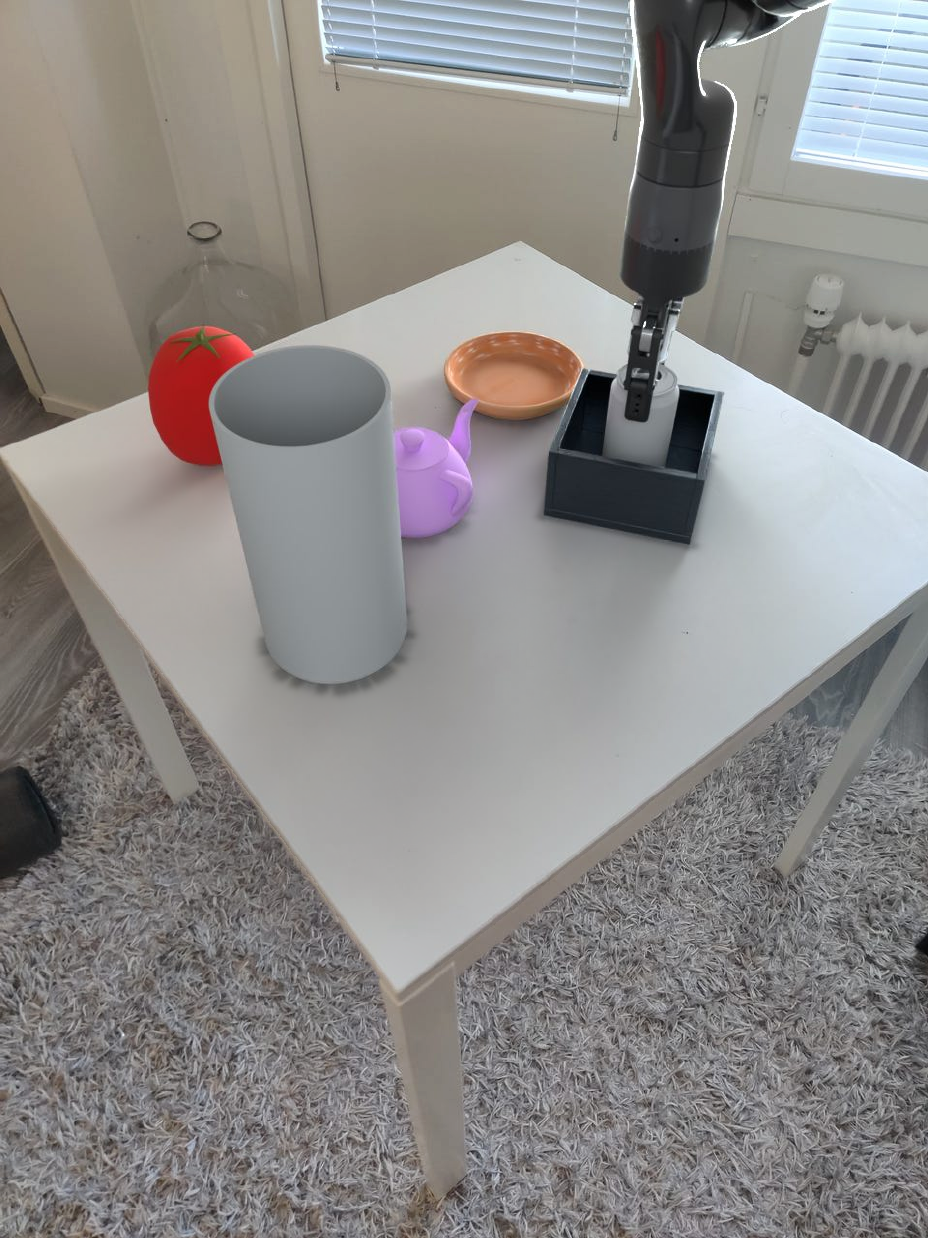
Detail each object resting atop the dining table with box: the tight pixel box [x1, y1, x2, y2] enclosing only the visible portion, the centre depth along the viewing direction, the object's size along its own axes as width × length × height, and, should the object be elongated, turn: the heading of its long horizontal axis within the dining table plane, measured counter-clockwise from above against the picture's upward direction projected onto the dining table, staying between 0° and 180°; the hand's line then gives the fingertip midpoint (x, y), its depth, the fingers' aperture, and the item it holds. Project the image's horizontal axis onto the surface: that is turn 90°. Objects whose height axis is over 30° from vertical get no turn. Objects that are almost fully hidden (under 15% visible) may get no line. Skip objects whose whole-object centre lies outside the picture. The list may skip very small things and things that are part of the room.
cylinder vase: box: [209, 344, 408, 685], centre depth 75 cm, size 12×12×25 cm
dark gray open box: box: [543, 368, 725, 545], centre depth 95 cm, size 15×15×8 cm
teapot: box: [394, 398, 478, 539], centre depth 92 cm, size 12×14×9 cm
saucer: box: [443, 330, 585, 421], centre depth 108 cm, size 16×16×3 cm
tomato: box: [147, 324, 256, 466], centre depth 97 cm, size 13×11×14 cm
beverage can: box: [602, 363, 679, 468], centre depth 92 cm, size 6×6×12 cm
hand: (644, 393), depth 89 cm, fingers open, 8 cm apart
